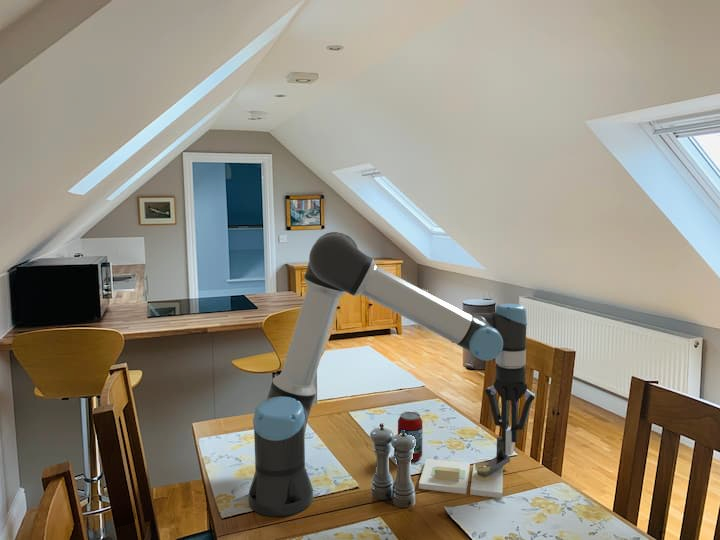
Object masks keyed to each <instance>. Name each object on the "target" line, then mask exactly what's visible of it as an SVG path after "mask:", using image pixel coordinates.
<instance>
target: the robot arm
mask: <svg viewBox="0 0 720 540" xmlns="http://www.w3.org/2000/svg"><path fill="white" fill-rule="evenodd" d="M308 259H309V260H308V264H307V267H306V271H305V275H304V277H303V280H304V282H305V284H306V286H307V288H306V291H305V293H304V294H305V295H304V298H303V301H302V304H301V307H300V309H299V313H298V317H297V319H296V324H295V327H294V330H293V333H292V336H291V339H290V342H289V347H288V348H287V352H286V356H285V359H284V363H283V366H282V368H281V372H280V374H278V375H276V376H274V377H273V378H272V381H271V384H270V388H269V390H268V394H267V397H266V399H265V400H262V401H261V402H259V403H258V404H257V406H256V407H255V409H254V412H253V419H252V424H253V430H254V431H253V432H254V464H255V465H254V467H255V471H254V474H253V476H252V477H253V478H252V480H251V485H250V487H249V492H248V504H249V507H250V509H251V510H252V511H253V512H256V513H258V514H260V515H262V516H265V517H266V516H269V517H285V516H290V515H291V516H292V515H294V514H297V513H300V512H302V511H304V510H305V509H308V507H309V506H310V505H312V502H313V500H314V489H313V485H312V483H311V480H310V477H309V473H308V471H307V468H306V455H305V454H306V453H305V452H306V451H305V449H306V448H305V447H306V446H305V440H306V439H305V435H306V429H307V425H308V420H309V416H310V414H311V411H312V408H313V407H312V406H313V403H314V400H315V397H316V394H317V389H316V387H315V385H314V380H315V377H316V375H317V371H318V368H319V365H320V362H321V360H322V355H323V352H324V350H325V346H326V342H327V340H328V336H329V333H330V329H331V328H332V324H333V321H334V318H335V314H336V311H337V308H338V305H339V302H340V299H341V296H343V295H345V294H349V295H351V296H352V297H357V296H360V295H361V296H363V297H365V298H367V299H369V300H370V301H372V302H375V303H376V304H378V305H380V306H381V307H384V308H386V309H388V310H390V311H392V312H394V313H395V314H398V315H399V316H402V317H403V318H406V319H407V320H409V321H410V322H413V323H414V324H417V325H419V326H421V327H423V328H424V329H427V330H428V331H431V332H433V333H435V334H436V335H438V336H440V337H442V338H445V339H446V340H448V341H450V342H451V343H452V344H456V345H457V346H459V347H461V348H463V349H465V350H466V351H468V352H471V354H472V355H473V357H475V358H478V359H479V360H481V361H486V362H487V361H491V360H494V359H495V363H496V364H495V372H494V373H495V380H494V382H493V385H491V386H488V387H487V388H486V389H485V390H484V392H485V394H486V396H487V397H488V400H489V405H490V409H491V414H492V417H493V421H494V425H495V426H498V427H500V428H501V437H502V440H503V441H506V455H508V456H512V454H513V453H514V451H515V450H514V449H515V447H514V446H515V444H516V443H517V442H518V440H519V439H518V437H519V433H518V432H519V431H522V430H523V429H524V428H525V426H526V424H527V420H528V417H529V414H530V410H531V407H532V403H533V401H534V400H535V399H536V397H537V394H536V393H535V392H532V391H530V390H529V389H528V388H529V387H528V385H527V382H526V381H527V379H526V378H527V375H526V373H527V372H526V371H527V370H526V369H527V367H526V364H527V363H526V362H527V348H526V346H527V326H528V323H527V309H526V307H525V306H524V305H521V304H517V303H500V304H497V305H496V307H495V311H494V312H490V313H489V312H484V313H483V312H481V313H480V312H476V313H475V312H473V313H472V312H470V313H469V312H468V313H467V312H465V311H462V310H461V309H459V308H457V307H456V306H454V305H452V304H450V303H449V302H446V301H444V300H442V299H441V298H438V297H436V296H435V295H432V294H431V293H429V292H428V291H425V290H424V289H421V288H420V287H418V286H416V285H414V284H412V283H410V282H408V281H407V280H404V279H403V278H400V277H399V276H397V275H395V274H393V273H391V272H389V271H387V270H386V269H383V268H382V267H380V266H378V265H377V264H376V261H375V259H374V258H373V257H370V256H369V255H367V254H366V253H364V252H362V251H361V250H360V249H359V247H358V245H357V244H356V242H355V241H354V239H352V237H350V236H349V235H347V234H345V233H344V232H338V231H330V232H327V233H325V234H323V235H322V236H320V237H319V238H318V239H317V240H316V241H315V243H314V244H313V245H312V248H311V249H310V252H309V256H308ZM496 394H498V395H499V397H500V403H501V410H500V406H499V403H498V398H497V395H496ZM523 396H524V399H525V402H524V405H523V409H522V412H521V416H520V418H519V411H520V409H519V403H520V399H521V398H522V397H523ZM510 405H511V406H510ZM510 407H511V408H510ZM510 409H511V410H510ZM510 413H511V416H510ZM510 417H511V418H510ZM510 421H511V423H510Z"/></svg>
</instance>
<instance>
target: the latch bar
mask: <svg viewBox="0 0 720 540" xmlns="http://www.w3.org/2000/svg"><path fill="white" fill-rule="evenodd" d="M510 458H511V455H506V441H503V440H502V436H498V437H496V456H495V457H493V458H492V459H490V460H489V461H487V462H482V461H480V462H476V463H474V464H475V470H476V471H477V475H480V476H482V477H485V478H486V477H487V476H489V475H490V474H492V473H493V472H495V471H496V470H498V469H499V468H501V467H504V466H506V465H507V464H509V463H510V462H511V461H510V460H511V459H510Z"/></svg>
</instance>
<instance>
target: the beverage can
mask: <svg viewBox="0 0 720 540" xmlns="http://www.w3.org/2000/svg"><path fill="white" fill-rule="evenodd" d="M402 430H405V433H406V434H407V435H412V436H414V437H415V439H416V446H415V448H414V453H413V459H412V461H411V462H413V461H417V460H419V459H420V458H422V456H423V419H422V418H421V416H420V414H419V413H417V412H414V411H405V412H402V413H401V414H400V415H399V418H398V420H397V436H398V435H399V434H400V433H401V431H402Z"/></svg>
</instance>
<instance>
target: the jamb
mask: <svg viewBox="0 0 720 540" xmlns="http://www.w3.org/2000/svg"><path fill="white" fill-rule="evenodd" d="M475 464H476V463H473V466H472V474H471V475H472V476H471V483H470V496H477V497H478V496H480V497H488V498H495V499H496V498H497V499H503V489H504V488H503V487H504V486H503V480H504V466H502V467H501V468H499V469H498V470H496V471H495V472H493V473H492V474H490V475H489V476H487V477H486V478H485V477H482V476H480V475H477V471H476V470H475Z"/></svg>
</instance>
